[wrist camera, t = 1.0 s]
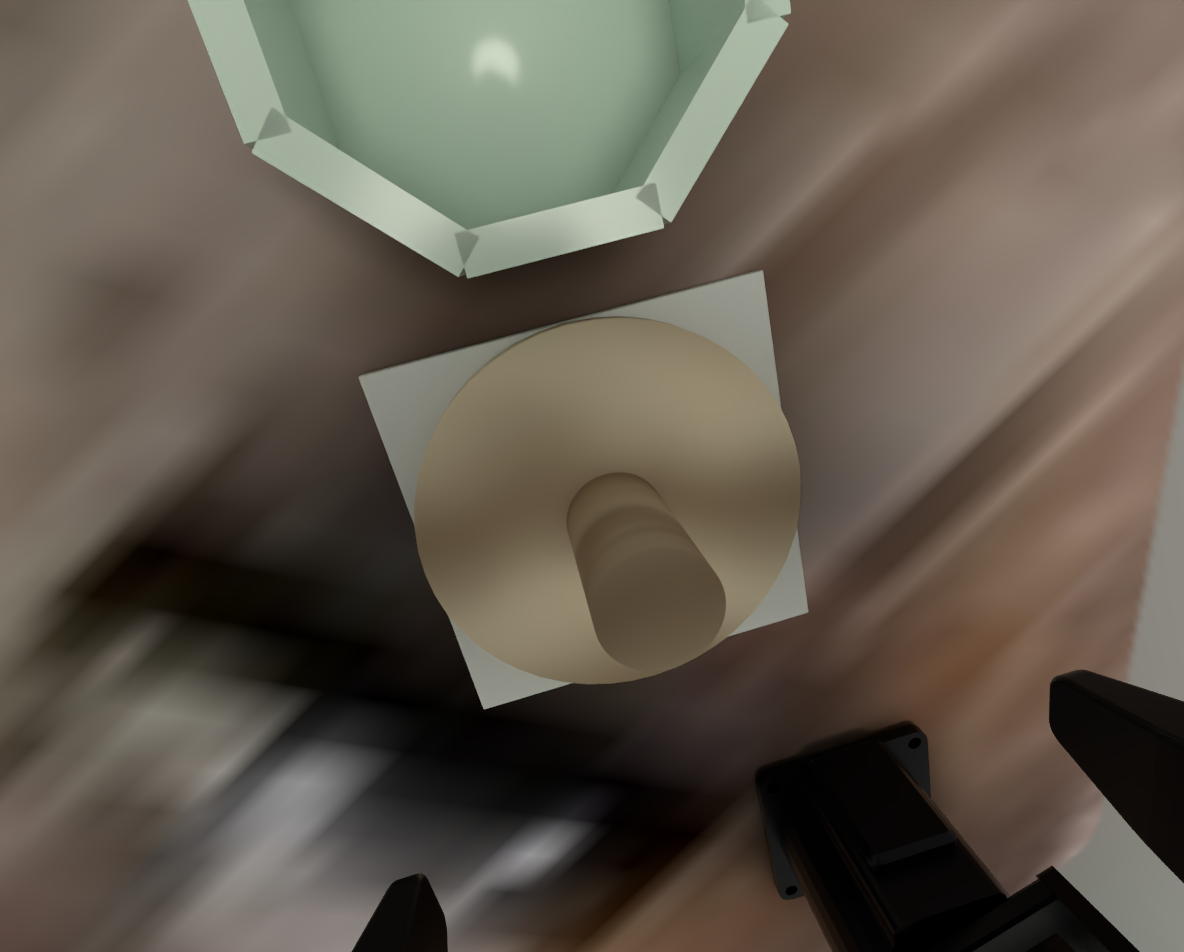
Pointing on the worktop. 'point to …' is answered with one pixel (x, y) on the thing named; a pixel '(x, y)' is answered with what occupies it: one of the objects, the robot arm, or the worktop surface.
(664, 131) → the bowl
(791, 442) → the lid
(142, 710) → the worktop surface
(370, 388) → the mat
